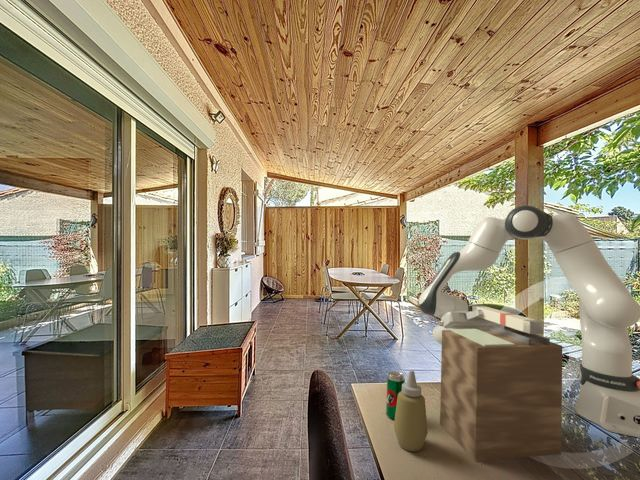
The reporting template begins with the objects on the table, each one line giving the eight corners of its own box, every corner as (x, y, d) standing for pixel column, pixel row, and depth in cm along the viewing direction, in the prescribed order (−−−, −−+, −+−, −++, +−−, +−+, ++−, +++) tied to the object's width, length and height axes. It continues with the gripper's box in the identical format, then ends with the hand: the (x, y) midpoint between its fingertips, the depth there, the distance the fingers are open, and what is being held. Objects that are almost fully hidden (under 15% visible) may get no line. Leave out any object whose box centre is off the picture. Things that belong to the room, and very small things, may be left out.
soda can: (404, 422, 86) (405, 379, 86) (386, 419, 87) (387, 376, 87) (403, 412, 91) (404, 372, 91) (386, 410, 92) (387, 370, 92)
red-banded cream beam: (472, 315, 98) (472, 305, 98) (482, 315, 98) (482, 305, 98) (529, 334, 76) (529, 321, 76) (542, 333, 77) (542, 321, 77)
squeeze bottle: (386, 439, 78) (388, 367, 78) (410, 431, 82) (412, 363, 82) (409, 459, 71) (411, 380, 71) (434, 449, 74) (436, 374, 75)
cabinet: (440, 423, 86) (442, 325, 86) (513, 419, 89) (514, 324, 90) (475, 461, 71) (477, 341, 72) (561, 453, 74) (562, 339, 75)
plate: (450, 330, 87) (450, 329, 87) (476, 330, 88) (476, 328, 88) (484, 346, 73) (484, 344, 73) (514, 345, 74) (514, 344, 74)
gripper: (432, 316, 105) (453, 301, 93) (486, 315, 108) (513, 301, 97) (437, 334, 102) (459, 322, 90) (492, 333, 105) (521, 321, 93)
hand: (487, 311), depth 93 cm, fingers closed on red-banded cream beam, 3 cm apart
